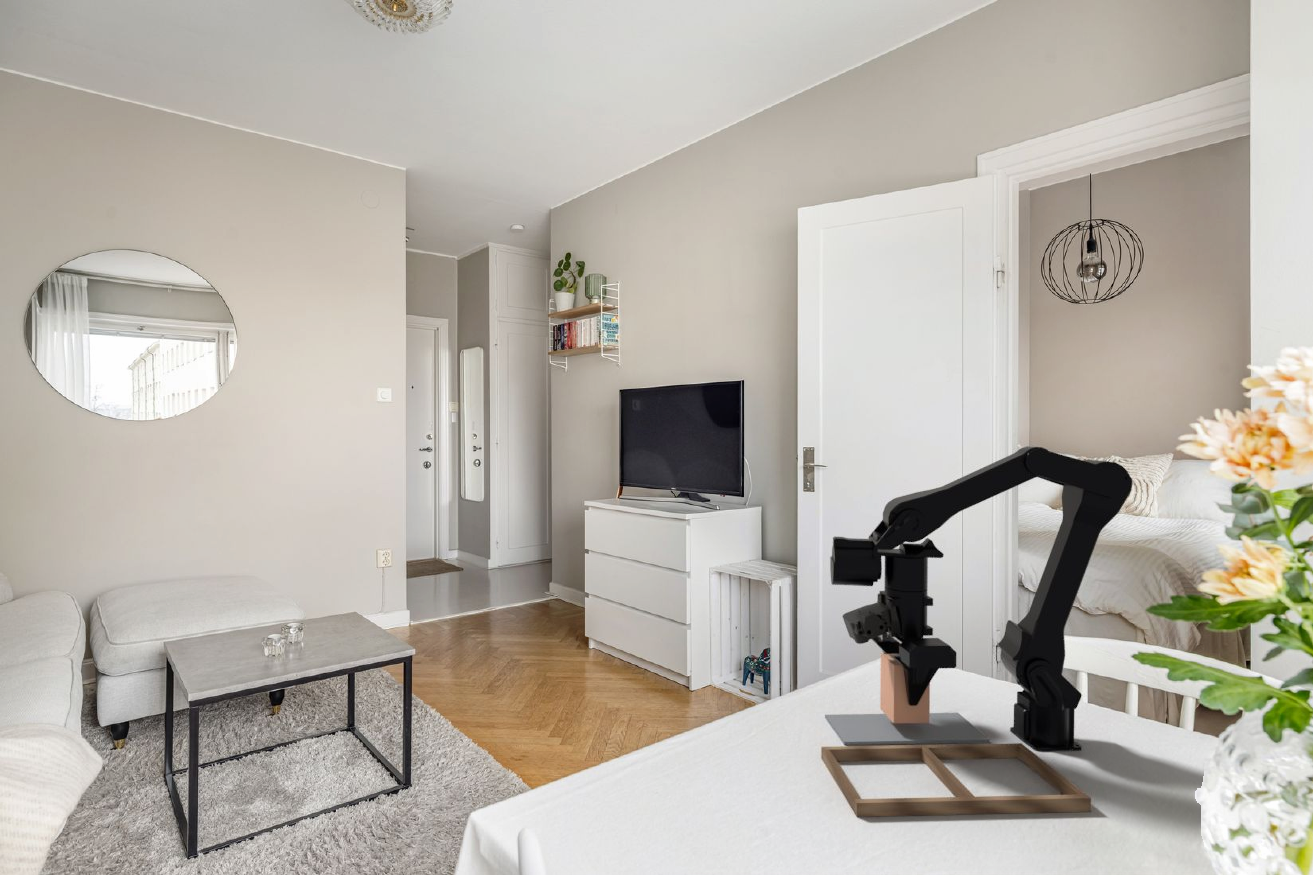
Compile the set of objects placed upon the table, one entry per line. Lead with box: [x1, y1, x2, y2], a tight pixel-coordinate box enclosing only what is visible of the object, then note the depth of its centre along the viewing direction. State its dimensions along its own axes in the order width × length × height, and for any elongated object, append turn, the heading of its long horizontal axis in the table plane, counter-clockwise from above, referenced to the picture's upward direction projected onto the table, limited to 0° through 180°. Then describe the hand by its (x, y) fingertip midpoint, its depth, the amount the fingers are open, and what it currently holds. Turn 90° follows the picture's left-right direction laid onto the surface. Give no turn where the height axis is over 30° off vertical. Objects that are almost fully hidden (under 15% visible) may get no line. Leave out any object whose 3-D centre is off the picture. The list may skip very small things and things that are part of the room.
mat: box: [824, 712, 991, 746], centre depth 99 cm, size 20×9×1 cm, turn 93°
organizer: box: [820, 742, 1092, 818], centre depth 84 cm, size 26×14×2 cm, turn 93°
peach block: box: [879, 653, 931, 723], centre depth 99 cm, size 5×5×8 cm
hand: (904, 697), depth 99 cm, fingers closed on peach block, 5 cm apart
